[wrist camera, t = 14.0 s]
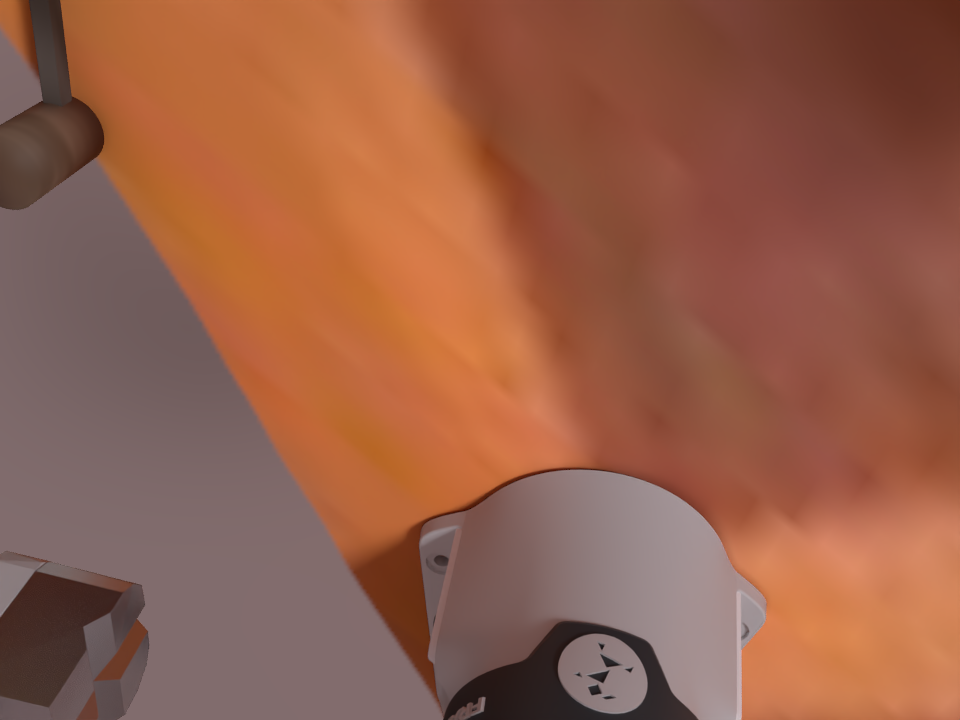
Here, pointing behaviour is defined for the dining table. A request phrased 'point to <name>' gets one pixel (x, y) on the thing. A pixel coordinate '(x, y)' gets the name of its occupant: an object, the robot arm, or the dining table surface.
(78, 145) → the corded block
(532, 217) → the dining table surface
